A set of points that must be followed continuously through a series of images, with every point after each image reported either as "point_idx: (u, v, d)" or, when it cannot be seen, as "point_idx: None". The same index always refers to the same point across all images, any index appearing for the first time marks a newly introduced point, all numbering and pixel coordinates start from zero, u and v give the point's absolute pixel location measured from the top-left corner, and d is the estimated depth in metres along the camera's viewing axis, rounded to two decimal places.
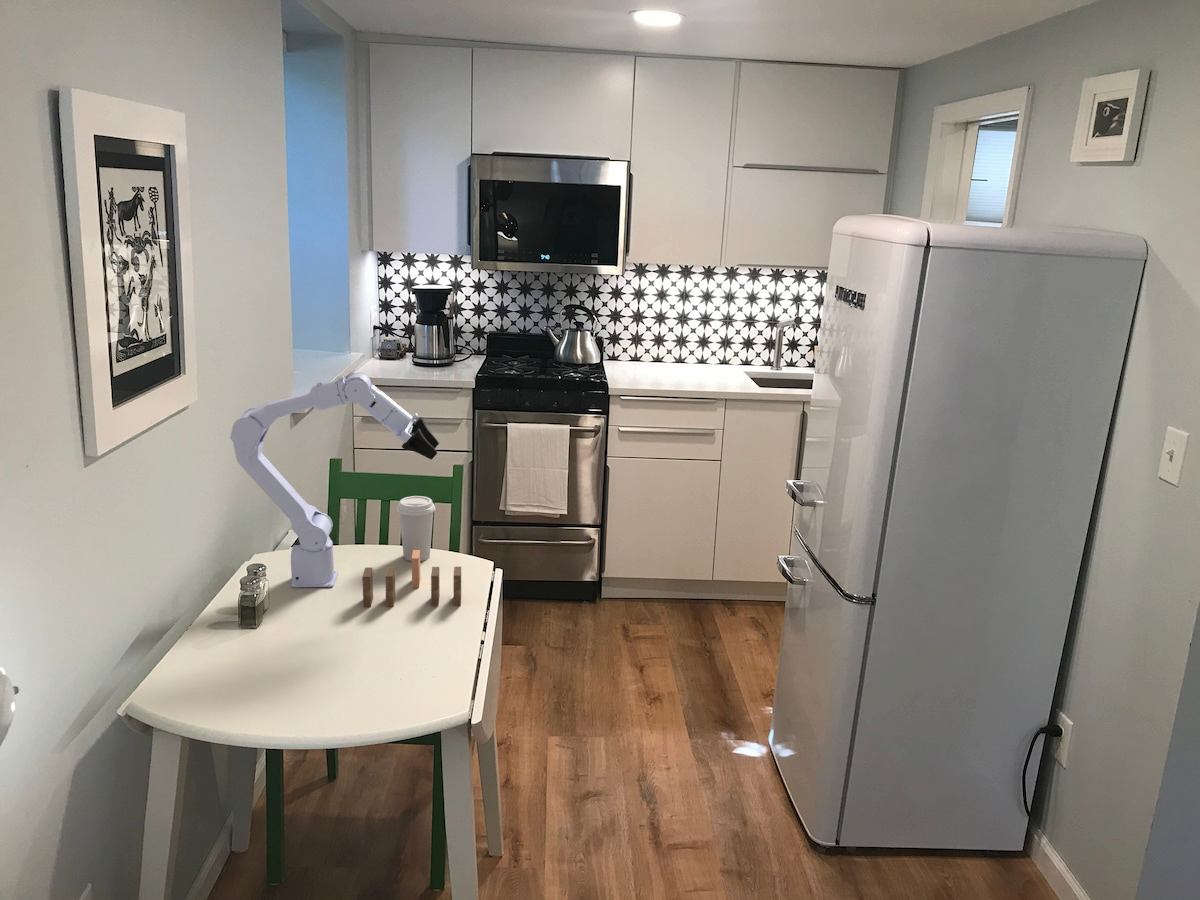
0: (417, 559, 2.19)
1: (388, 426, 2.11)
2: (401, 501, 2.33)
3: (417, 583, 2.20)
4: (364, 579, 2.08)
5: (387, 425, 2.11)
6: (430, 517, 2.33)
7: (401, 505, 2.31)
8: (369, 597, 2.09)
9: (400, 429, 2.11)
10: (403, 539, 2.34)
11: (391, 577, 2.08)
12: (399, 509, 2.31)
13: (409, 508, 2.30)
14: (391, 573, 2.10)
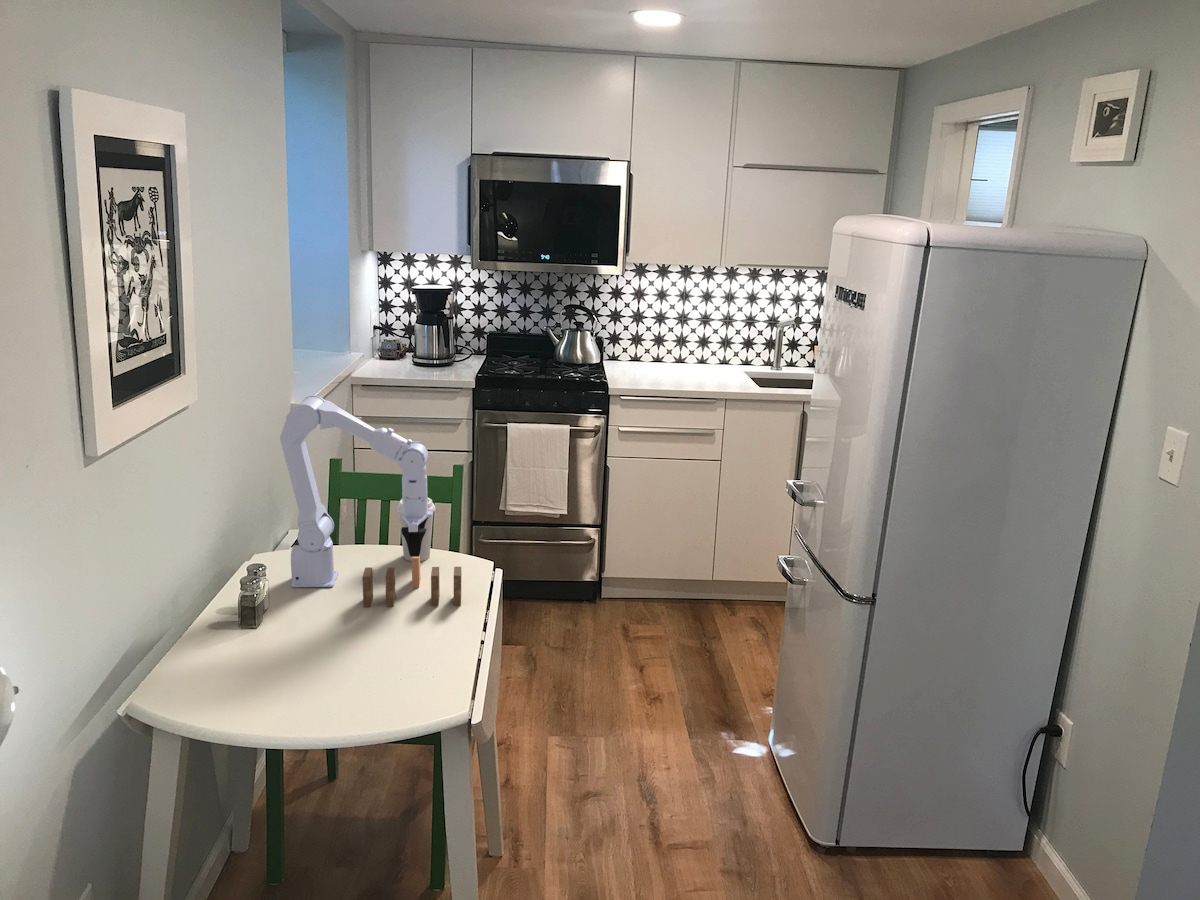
0: (417, 559, 2.19)
1: (406, 504, 2.15)
2: (401, 501, 2.33)
3: (417, 583, 2.20)
4: (364, 579, 2.08)
5: (406, 503, 2.15)
6: (430, 517, 2.33)
7: (401, 505, 2.31)
8: (369, 597, 2.09)
9: (412, 515, 2.15)
10: (403, 539, 2.34)
11: (391, 577, 2.08)
12: (399, 509, 2.31)
13: None
14: (391, 573, 2.10)
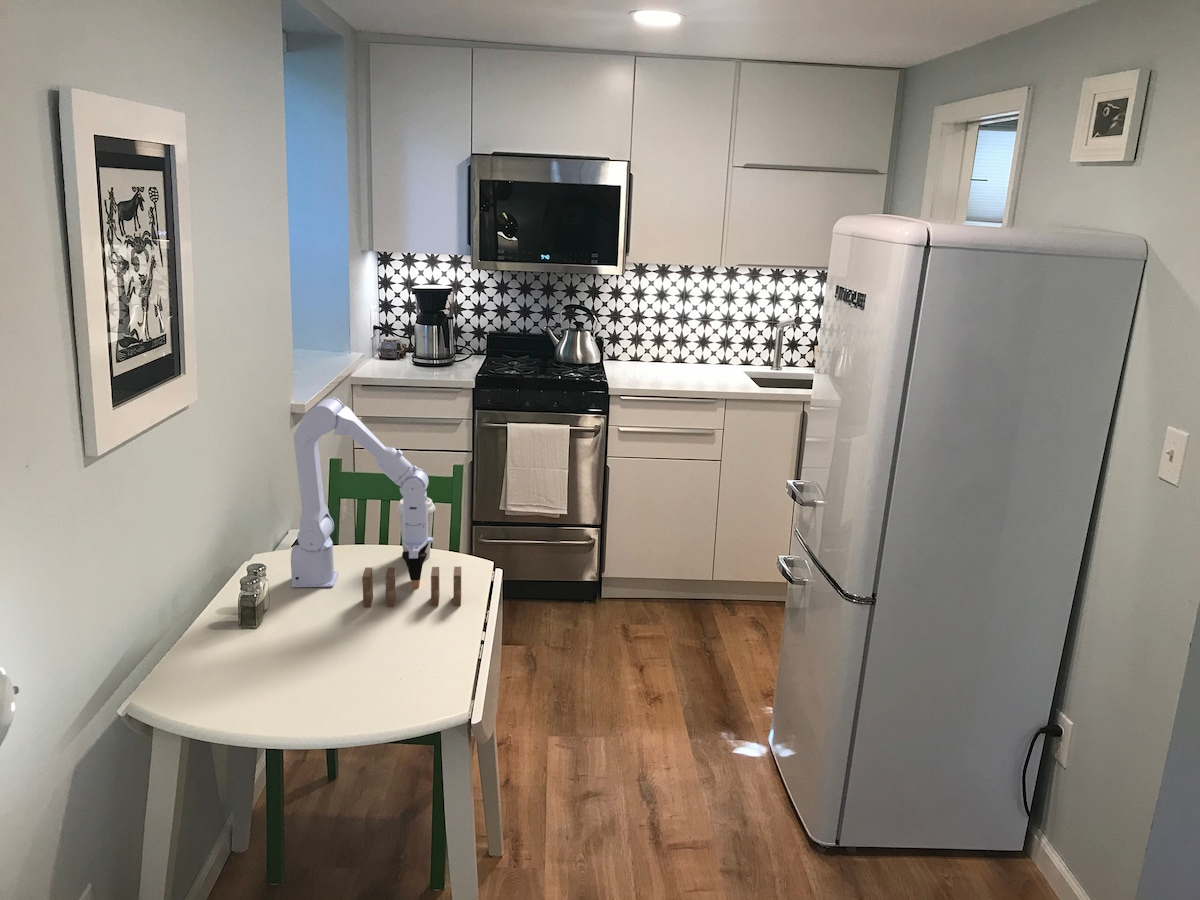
0: None
1: (406, 531, 2.17)
2: (401, 501, 2.33)
3: (417, 582, 2.20)
4: (364, 579, 2.08)
5: (406, 529, 2.17)
6: (430, 517, 2.33)
7: (401, 505, 2.31)
8: (369, 597, 2.09)
9: (412, 541, 2.17)
10: None
11: (391, 577, 2.08)
12: (399, 509, 2.31)
13: None
14: (391, 573, 2.10)
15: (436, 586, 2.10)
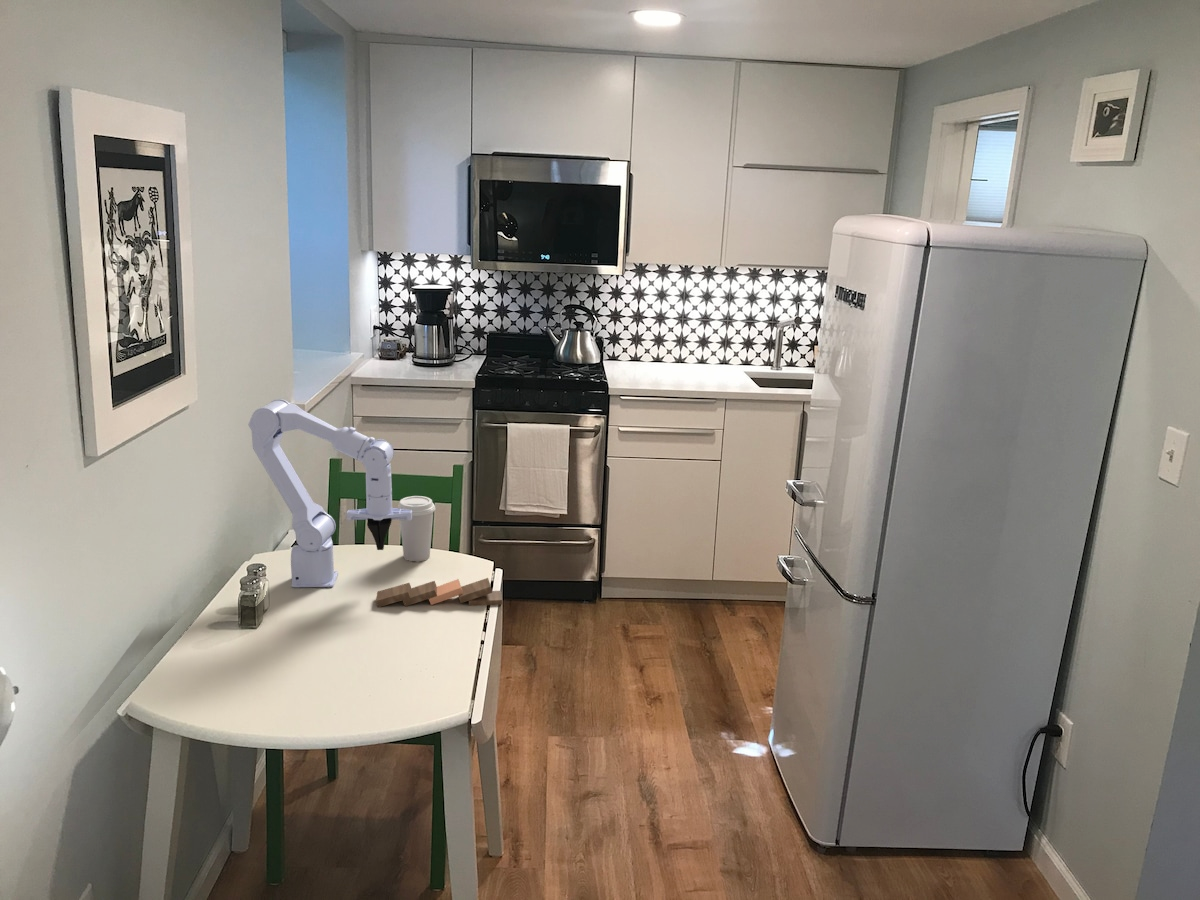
0: (461, 593, 2.13)
1: None
2: (401, 501, 2.33)
3: (435, 601, 2.12)
4: (405, 594, 2.10)
5: None
6: (430, 517, 2.33)
7: (401, 505, 2.31)
8: (387, 603, 2.10)
9: None
10: (403, 539, 2.34)
11: (435, 595, 2.12)
12: None
13: (409, 508, 2.30)
14: (436, 591, 2.13)
15: (481, 594, 2.13)
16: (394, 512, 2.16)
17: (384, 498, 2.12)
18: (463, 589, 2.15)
